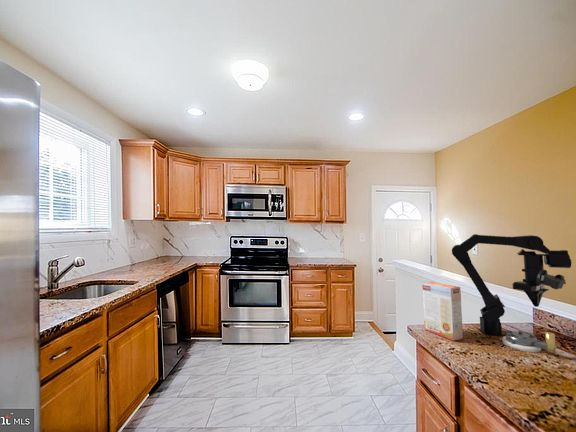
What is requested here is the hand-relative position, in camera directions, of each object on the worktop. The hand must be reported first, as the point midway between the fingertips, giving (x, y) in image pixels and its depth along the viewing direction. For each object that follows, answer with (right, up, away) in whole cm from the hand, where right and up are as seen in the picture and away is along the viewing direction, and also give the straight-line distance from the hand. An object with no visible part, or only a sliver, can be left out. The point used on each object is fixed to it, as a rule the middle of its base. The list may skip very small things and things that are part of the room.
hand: (536, 306), depth 107 cm
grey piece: (-10, -11, -8) cm, 17 cm away
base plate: (-10, -13, -5) cm, 17 cm away
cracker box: (-33, -14, +7) cm, 37 cm away
